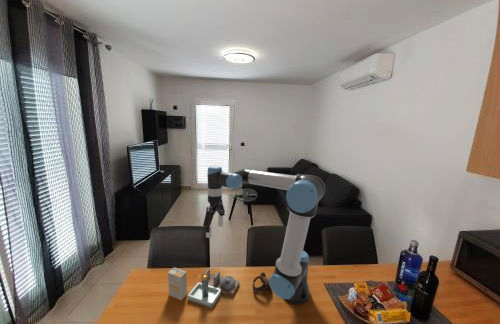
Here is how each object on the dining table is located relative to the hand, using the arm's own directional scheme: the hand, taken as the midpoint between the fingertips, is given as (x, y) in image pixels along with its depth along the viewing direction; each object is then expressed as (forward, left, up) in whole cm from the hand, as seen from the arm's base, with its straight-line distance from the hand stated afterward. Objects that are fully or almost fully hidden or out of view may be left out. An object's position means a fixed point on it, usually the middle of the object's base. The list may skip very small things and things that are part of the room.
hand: (214, 231), depth 118 cm
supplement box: (+10, +20, -27) cm, 35 cm away
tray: (-3, +16, -27) cm, 31 cm away
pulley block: (-7, +7, -27) cm, 28 cm away
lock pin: (-3, +16, -26) cm, 31 cm away
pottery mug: (-28, 0, -27) cm, 39 cm away
